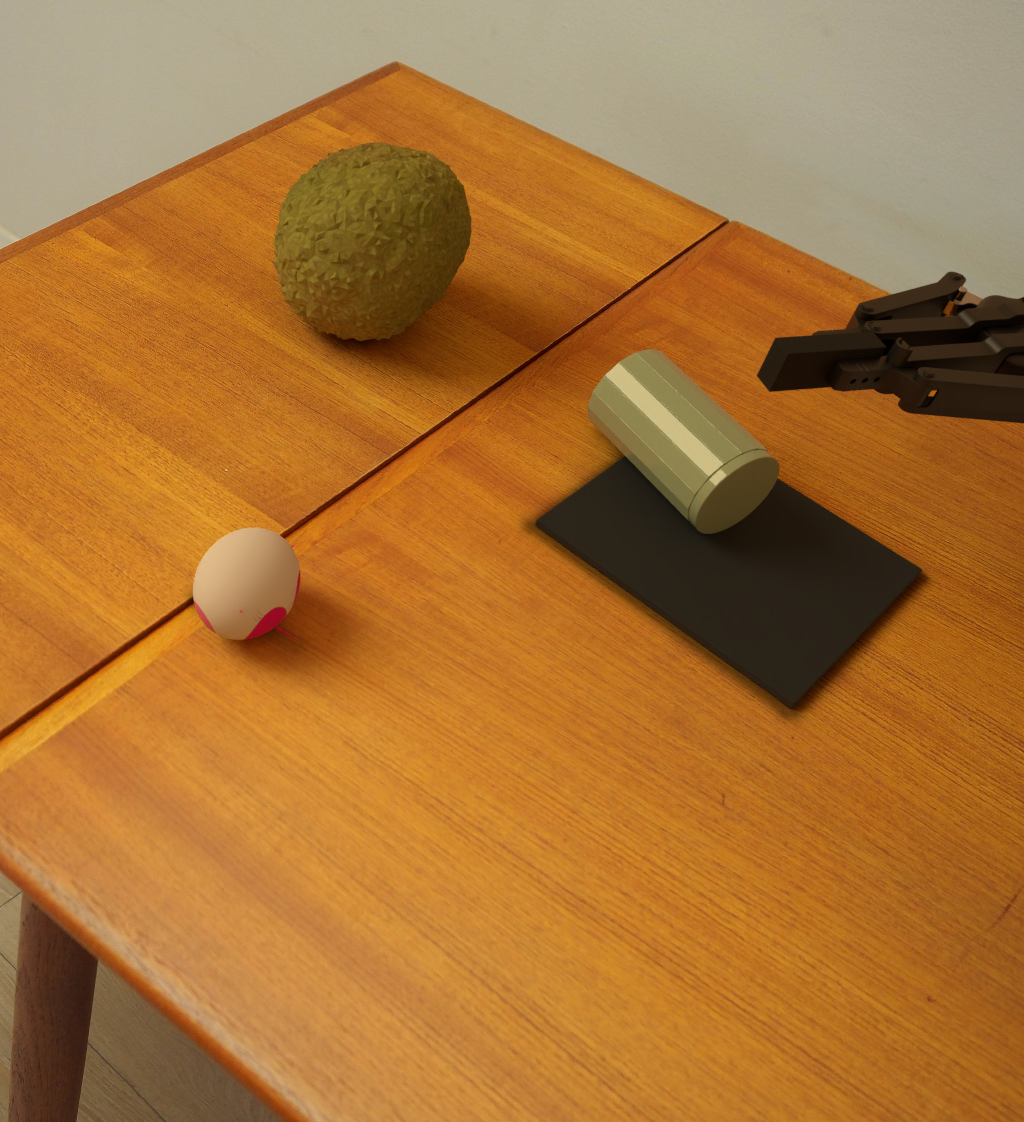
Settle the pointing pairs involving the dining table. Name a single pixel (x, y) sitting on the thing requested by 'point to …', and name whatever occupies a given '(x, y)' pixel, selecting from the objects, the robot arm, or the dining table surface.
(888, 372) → the robot arm
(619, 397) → the cup
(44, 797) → the dining table surface
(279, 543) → the stress ball
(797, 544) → the mat
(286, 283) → the fruit
